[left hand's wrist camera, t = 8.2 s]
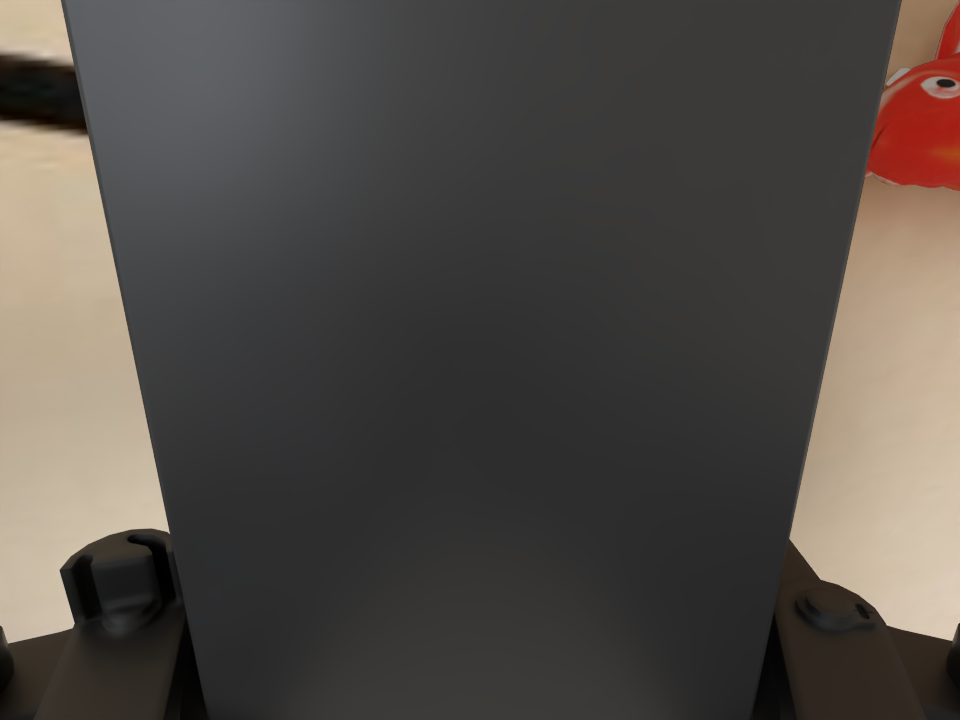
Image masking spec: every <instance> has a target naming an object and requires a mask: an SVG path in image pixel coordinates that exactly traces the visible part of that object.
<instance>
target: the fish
mask: <svg viewBox="0 0 960 720" xmlns="http://www.w3.org/2000/svg"><path fill="white" fill-rule="evenodd" d="M886 85H887V86H889V87H888V88H887V89H886V90H885V91H884V92H883V93H882V97H881V102H880V106H879V111H878V116H877V121H876V126H875V130H874V135H873V140H872V145H871V149H870V154H869V159H868V164H867V169H866V173H865V177H867V176H870V175H873V174H874V175H875V176H876V177H877V178H878V179H879V180H880V181H882V182H884V183H886V184H888V185H892V186H903V185H919V186H923V187H928V188H936V187H940V186H945V187H947V188H950V189H953V190H958V191H960V0H959V2H958V3H957V5H956V7H955V9H954V10H953V12H952V14H951V15H950V17H949V19H948V20H947V22H946V24H945V25H944V28H943V32H942V35H941V39H940V42H939V45H938V49H937V53H936V56H935V59H934V61H931V62H928V63H925V64H923V65H920V66H917V67H915V68H913V69H910V68H906V67H904V68H901V69H900V70H898V71H897V72H896V73H895V74H894V75H893V76H892V77H891V78H890V79H889V80H888V82H887V83H886Z"/></svg>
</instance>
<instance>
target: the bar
mask: <svg viewBox="0 0 960 720" xmlns="http://www.w3.org/2000/svg"><path fill="white" fill-rule="evenodd" d="M901 1H902V0H61V3H62V8H63V13H64V18H65V23H66V28H67V32H68V37H69V42H70V47H71V52H72V57H73V62H74V67H75V72H76V76H77V81H78V86H79V91H80V96H81V101H82V106H83V111H84V115H85V120H86V125H87V130H88V135H89V140H90V145H91V150H92V155H93V159H94V164H95V169H96V174H97V179H98V184H99V189H100V194H101V199H102V203H103V208H104V213H105V218H106V223H107V228H108V233H109V238H110V243H111V247H112V252H113V257H114V262H115V267H116V272H117V277H118V282H119V287H120V291H121V296H122V301H123V306H124V311H125V316H126V321H127V326H128V331H129V335H130V340H131V345H132V350H133V355H134V360H135V365H136V370H137V374H138V379H139V384H140V389H141V394H142V399H143V404H144V409H145V414H146V418H147V423H148V428H149V433H150V438H151V443H152V448H153V453H154V458H155V462H156V467H157V472H158V477H159V482H160V487H161V492H162V497H163V502H164V506H165V511H166V516H167V521H168V526H169V531H170V536H171V541H172V546H173V550H174V555H175V560H176V565H177V570H178V575H179V580H180V585H181V589H182V594H183V599H184V604H185V609H186V614H187V619H188V624H189V629H190V633H191V638H192V643H193V648H194V653H195V658H196V663H197V668H198V673H199V677H200V682H201V687H202V692H203V697H204V702H205V707H206V712H207V717H208V720H751V718H752V714H753V709H754V704H755V699H756V694H757V690H758V685H759V680H760V675H761V671H762V666H763V661H764V656H765V651H766V647H767V642H768V637H769V632H770V628H771V623H772V618H773V613H774V608H775V604H776V599H777V594H778V589H779V584H780V580H781V575H782V570H783V565H784V561H785V556H786V551H787V546H788V541H789V537H790V532H791V527H792V522H793V518H794V513H795V508H796V503H797V498H798V494H799V489H800V484H801V479H802V475H803V470H804V465H805V460H806V455H807V451H808V446H809V441H810V436H811V432H812V427H813V422H814V417H815V412H816V408H817V403H818V398H819V393H820V388H821V384H822V379H823V374H824V369H825V365H826V360H827V355H828V350H829V345H830V341H831V336H832V331H833V326H834V322H835V317H836V312H837V307H838V302H839V298H840V293H841V288H842V283H843V279H844V274H845V269H846V264H847V259H848V255H849V250H850V245H851V240H852V236H853V231H854V226H855V221H856V216H857V212H858V207H859V202H860V197H861V192H862V188H863V183H864V178H865V173H866V169H867V164H868V159H869V154H870V149H871V145H872V140H873V135H874V130H875V126H876V121H877V116H878V111H879V106H880V102H881V97H882V92H883V87H884V83H885V78H886V73H887V68H888V63H889V59H890V54H891V49H892V44H893V39H894V35H895V30H896V25H897V20H898V16H899V11H900V6H901Z"/></svg>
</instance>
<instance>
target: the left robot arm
mask: <svg viewBox="0 0 960 720" xmlns="http://www.w3.org/2000/svg"><path fill="white" fill-rule="evenodd" d="M60 573H61V577H62V580H63V584H64V587H65V591H66V594H67V598H68V601H69V605H70V608H71V612H72V615H73V619H74V622H75V624H74V627H73V628H72V629H69V630H65V631H62V632H58V633H54V634H49V635H45V636H41V637H36V638H32V639H27V640H23V641H18V642H14V643H10V644H8V643H7V640H6V637H5V634H4V631H3V628H2V627H1V626H0V720H208V717H207V712H206V707H205V702H204V697H203V692H202V687H201V682H200V677H199V673H198V668H197V663H196V658H195V653H194V648H193V643H192V638H191V633H190V629H189V624H188V619H187V614H186V609H185V604H184V599H183V594H182V589H181V585H180V580H179V575H178V570H177V565H176V560H175V555H174V550H173V546H172V541H171V536H170V534H169V533H168V532H165V531H160V530H156V529H134V530H128V531H124V532H120V533H116V534H112V535H109V536H106V537H104V538H102V539H100V540H97V541H95V542H93V543H91V544H88V545H87V546H85V547H84V548H83V549H81V550H80V551H78V552H77V553H75V554H74V555H72V556H71V557H70V558H69V559H68V561H67V562H66V563H65V564H64V565H63V567H62V568H61V569H60ZM751 720H960V623H959V624H958V627H957V630H956V633H955V635H954V638H953V641H949V640H945V639H940V638H936V637H931V636H927V635H922V634H918V633H914V632H909V631H905V630H900V629H897V628H893V627H890V626H887V625H886V623H885V622H884V620H883V619H882V617H881V616H880V615H879V613H878V612H877V610H876V609H875V608H874V607H873V606H872V605H870V604H869V603H868V602H867V601H865V600H864V599H863V598H862V597H860V596H859V595H857V594H855V593H853V592H851V591H849V590H847V589H845V588H843V587H841V586H839V585H837V584H833V583H830V582H826V581H823V580H820V579H819V577H818V576H817V575H816V573H815V572H814V571H813V569H812V568H811V567H810V565H809V564H808V563H807V561H806V560H805V559H804V558H803V556H802V555H801V554H800V552H799V551H798V550H797V548H796V547H795V546H794V544H793V543H792V542H791V541H790V539H789V541H788V546H787V551H786V556H785V561H784V565H783V570H782V575H781V580H780V584H779V589H778V594H777V599H776V604H775V608H774V613H773V618H772V623H771V628H770V632H769V637H768V642H767V647H766V651H765V656H764V661H763V666H762V671H761V675H760V680H759V685H758V690H757V694H756V699H755V704H754V709H753V714H752V718H751Z"/></svg>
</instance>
